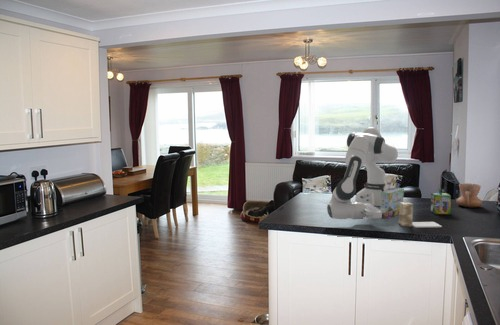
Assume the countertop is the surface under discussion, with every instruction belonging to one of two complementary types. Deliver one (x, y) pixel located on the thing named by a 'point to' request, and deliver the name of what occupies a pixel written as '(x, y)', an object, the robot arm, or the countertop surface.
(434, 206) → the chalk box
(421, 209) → the countertop surface
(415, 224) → the mat
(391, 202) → the snack box
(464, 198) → the ceramic jug
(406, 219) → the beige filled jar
